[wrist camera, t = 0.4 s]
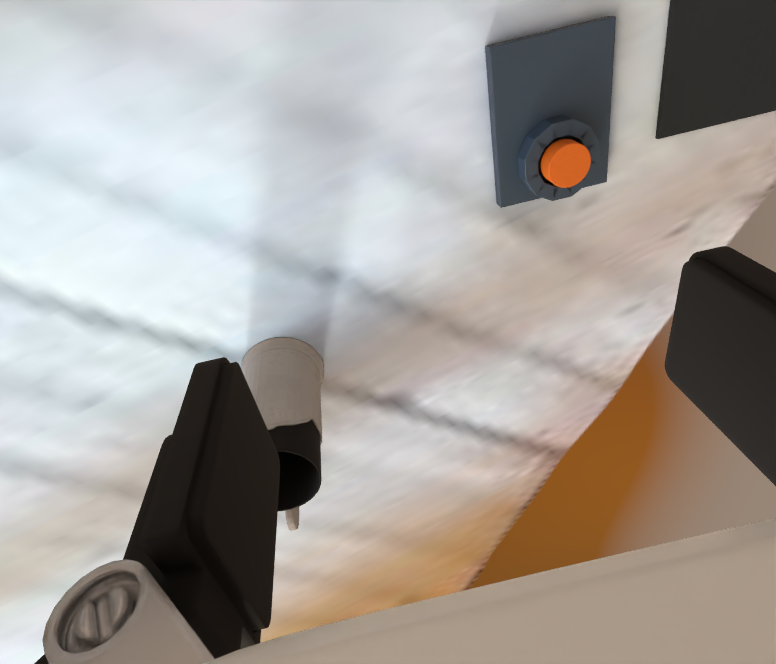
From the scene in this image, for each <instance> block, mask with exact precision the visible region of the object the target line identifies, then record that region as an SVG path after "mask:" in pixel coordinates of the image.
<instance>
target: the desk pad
mask: <svg viewBox="0 0 776 664" xmlns="http://www.w3.org/2000/svg"><path fill="white" fill-rule="evenodd" d="M775 110H776V0H670V9H669V18H668V27H667V37H666V46H665V55H664V65H663V74H662V83H661V92H660V102H659V111H658V120H657V130H656V138H657V139H660V138H664V137H668V136H673V135H677V134H681V133H685V132H689V131H693V130H697V129H701V128H705V127H710V126H714V125H718V124H722V123H726V122H730V121H734V120H738V119H742V118H746V117H751V116H755V115H759V114H763V113H767V112H771V111H775Z"/></svg>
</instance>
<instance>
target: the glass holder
mask: <svg viewBox="0 0 776 664" xmlns="http://www.w3.org/2000/svg"><path fill="white" fill-rule="evenodd" d="M241 370H242V372H243V374H244V376H245V379H246V381H247V383H248V386H249V388H250V390H251V392H252V395H253V397H254V399H255V402H256V404H257V406H258V408H259V411H260V413H261V415H262V418H263V420H264V422H265V424H266V427H267V429H268V431H269V433H270V436H271V438H272V440H273V443H274V445H275V447H276V449H277V452H278V456H279V460H280V479H279V495H278V511H285V514H286V521H287V525H288V528H289V530H296V529H298V525H299V506H301V505H303V504H305V503H306V502H308V501H309V500H311V499H312V498H313V497H314V496H315V494H316V493H317V492H318V490H319V488H320V485H321V452H320V446H321V443H322V422H321V392H320V384H321V382H322V379H323V375H324V365H323V361H322V359H321V357H320V355H319V354H318V353H317V352H316V350H315V349H313V348H312V347H311V346H310V345H308V344H306V343H305V342H302V341H300V340H297V339H292V338H284V337H281V338H272V339H268V340H265V341H262V342H260V343H258V344H256V345H255V346H254V347H252V348H251V349H250V350H249V351H248V352H247V353H246V355H245V357H244V359H243V361H242V364H241Z"/></svg>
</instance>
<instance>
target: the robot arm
mask: <svg viewBox="0 0 776 664" xmlns="http://www.w3.org/2000/svg"><path fill="white" fill-rule="evenodd" d="M665 369H666V373H667V375H668V377H669V378H670V380H671V381H672V382H673V383H674V384H675V385H676V386H677V387H678V388H679V389H680V390H681V391H682V392H683V393H684V394H685V395H686V396H687V397H688V398H689V399H690V400H691V401H692V402H693V403H694V404H695V405H696V406H697V407H698V408H699V409H700V410H701V411H702V412H703V413H704V414H705V415H706V416H707V417H708V418H709V419H710V420H711V421H712V422H713V423H714V424H715V425H716V426H717V427H718V428H719V429H720V430H721V431H722V432H723V433H724V434H725V435H726V436H727V437H728V438H729V439H730V440H731V441H732V442H733V443H734V444H735V445H736V446H737V447H738V448H739V449H740V450H741V451H742V453H744V455H745V456H746V457H747V458H748V459H750V461H752V463H753V464H755V466H756V467H757V468H758V469H759V470H760V471H761V472H762V473H763V474H764V475H765V476H766V477H767V478H768V479H769V480H770V481H771V482H772V483H773V484H774V485H775V486H776V273H775V272H774V271H772V270H770V269H768V268H766V267H764V266H763V265H761V264H759V263H757V262H755V261H753V260H752V259H750V258H748V257H746V256H745V255H743V254H741V253H739V252H737V251H736V250H734V249H732V248H730V247H727V246H723V247H718V248H713V249H709V250H704V251H700V252H696V253H694V254H693V255H692V256H691V257H690V259H689V261H688V262H686V263H685V264H684V265H683V268H682V273H681V278H680V284H679V289H678V295H677V300H676V305H675V311H674V316H673V322H672V327H671V333H670V338H669V343H668V349H667V354H666V360H665ZM279 479H280V460H279V456H278V452H277V449H276V447H275V445H274V443H273V440H272V438H271V436H270V433H269V431H268V429H267V427H266V424H265V422H264V420H263V418H262V415H261V413H260V411H259V408H258V406H257V404H256V402H255V399H254V397H253V395H252V392H251V390H250V388H249V386H248V383H247V381H246V379H245V376H244V374H243V372H242V370H241V367H240V366H239V364H238V363H237V362H233V363H230V362H229V361H228V360H227V359H226V358H224V357H223V358H219V359H214V360H210V361H205V362H201V363H197V364H196V365H195V367H194V369H193V372H192V375H191V379H190V382H189V385H188V388H187V391H186V394H185V397H184V400H183V403H182V406H181V410H180V413H179V416H178V419H177V422H176V425H175V428H174V431H173V434H172V435H169V436H168V437H167V438H165V440H164V442H163V444H162V446H161V449H160V452H159V455H158V458H157V461H156V464H155V467H154V470H153V473H152V476H151V479H150V482H149V485H148V488H147V491H146V493H145V496H144V499H143V502H142V505H141V508H140V511H139V514H138V517H137V520H136V523H135V526H134V529H133V532H132V535H131V538H130V541H129V544H128V547H127V549H126V552H125V555H124V558H123V560H119V561H112V562H110V563H107V564H105V565H103V566H100V567H98V568H96V569H94V570H93V571H91V572H90V573H88V574H87V575H85V576H84V577H82V578H81V579H80V580H79V581H78V582H76V583H75V584H74V585H73V586H72V587H71V588H70V589H69V590H68V591H67V592H66V593H65V594H64V596H63V597H62V598H61V600H60V601H59V602H58V604H57V605H56V606H55V607H54V609H53V611H52V613H51V615H50V617H49V619H48V621H47V623H46V627H45V631H44V636H43V646H44V652H45V654H44V655H43V656H42V657H41V658H40V659H39V660H38V661H37V662H36V663H34V664H776V518H773V519H769V520H764V521H760V522H756V523H751V524H747V525H742V526H738V527H734V528H729V529H725V530H721V531H716V532H712V533H707V534H703V535H699V536H695V537H690V538H686V539H682V540H677V541H673V542H669V543H664V544H660V545H656V546H652V547H647V548H643V549H639V550H634V551H630V552H626V553H621V554H617V555H613V556H609V557H604V558H600V559H596V560H592V561H587V562H583V563H579V564H574V565H570V566H566V567H562V568H557V569H553V570H549V571H545V572H541V573H536V574H532V575H528V576H524V577H519V578H515V579H511V580H507V581H503V582H498V583H494V584H490V585H486V586H482V587H478V588H473V589H469V590H465V591H461V592H457V593H452V594H448V595H444V596H440V597H436V598H431V599H427V600H423V601H419V602H415V603H410V604H406V605H402V606H398V607H394V608H389V609H385V610H382V611H378V612H374V613H370V614H366V615H362V616H358V617H354V618H350V619H347V620H343V621H339V622H335V623H331V624H327V625H323V626H319V627H315V628H312V629H308V630H304V631H300V632H296V633H292V634H288V635H285V636H282V637H278V638H275V639H272V640H269V641H265V642H262V643H260V637H261V629H264V628H268V627H269V625H270V621H271V608H272V592H273V576H274V560H275V543H276V527H277V511H278V495H279Z"/></svg>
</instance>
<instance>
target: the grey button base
mask: <svg viewBox="0 0 776 664" xmlns="http://www.w3.org/2000/svg"><path fill="white" fill-rule="evenodd" d="M615 23H616V17H615V16H607V17H603V18H599V19H594V20H590V21H586V22H582V23H578V24H574V25H570V26H566V27H561V28H557V29H553V30H549V31H545V32H541V33H537V34H533V35H528V36H524V37H520V38H516V39H512V40H508V41H504V42H500V43H495V44H491V45H487V46H485V52H486V66H487V79H488V93H489V106H490V119H491V133H492V146H493V160H494V173H495V187H496V200H497V204H498V205H499V206H500V207H501V208H502V207H506V206H510V205H514V204H518V203H522V202H526V201H530V200H535V199H539V198H545V199H548V200H551V201H554V200H558V199H562V198H566V197H570V196H573V195H574V194H575V193H576V192H578V191H579V190H580V189H581V188H584V187H588V186H592V185H596V184H600V183H604V182H607V166H608V148H609V131H610V113H611V95H612V77H613V59H614V41H615ZM560 139H572V140H574V141H576V142H578V143H580V144H582V145H584V146H585V147H586V148H587V149H588V151H589V153H590V156H591V164H590V168H589V171H588V173H587V174H586V176H585V177H584V178H583V179H582V180H581V181H580V182H579V183H578V184H576V185H574V186H572V187H567V188H561V187H558V186H556V185H554V184H553V183H552V182H550V181H549V180H547V179H546V178H545V177H544V176H543V174H542V171H541V159H542V156H543V154H544V152H545V151H546V149H547V148H548V147H549V146H550V145H551V144H552V143H554V142H555V141H558V140H560Z"/></svg>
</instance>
